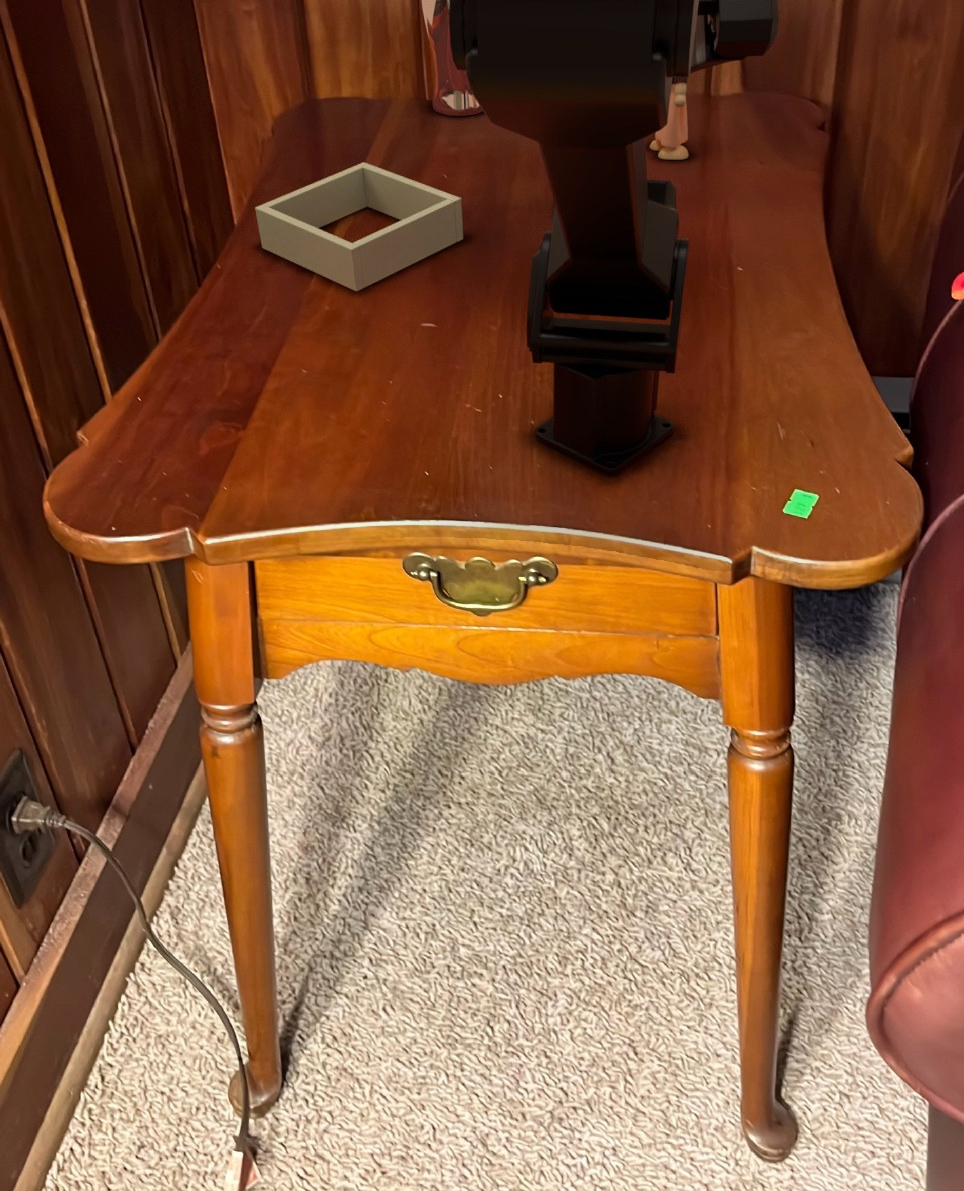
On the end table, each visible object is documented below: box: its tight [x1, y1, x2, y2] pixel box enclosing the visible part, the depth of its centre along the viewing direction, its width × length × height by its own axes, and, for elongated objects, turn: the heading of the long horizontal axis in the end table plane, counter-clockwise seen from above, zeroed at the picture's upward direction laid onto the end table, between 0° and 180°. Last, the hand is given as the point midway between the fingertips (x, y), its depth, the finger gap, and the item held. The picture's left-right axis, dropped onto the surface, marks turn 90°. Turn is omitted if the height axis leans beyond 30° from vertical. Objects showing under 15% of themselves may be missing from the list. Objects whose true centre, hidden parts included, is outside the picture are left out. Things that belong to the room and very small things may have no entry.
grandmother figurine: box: [649, 77, 689, 161], centre depth 100 cm, size 8×4×13 cm, turn 22°
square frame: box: [254, 161, 464, 292], centre depth 91 cm, size 12×12×4 cm
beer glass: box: [420, 0, 484, 117], centre depth 110 cm, size 7×7×15 cm
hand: (614, 72), depth 81 cm, fingers open, 9 cm apart
